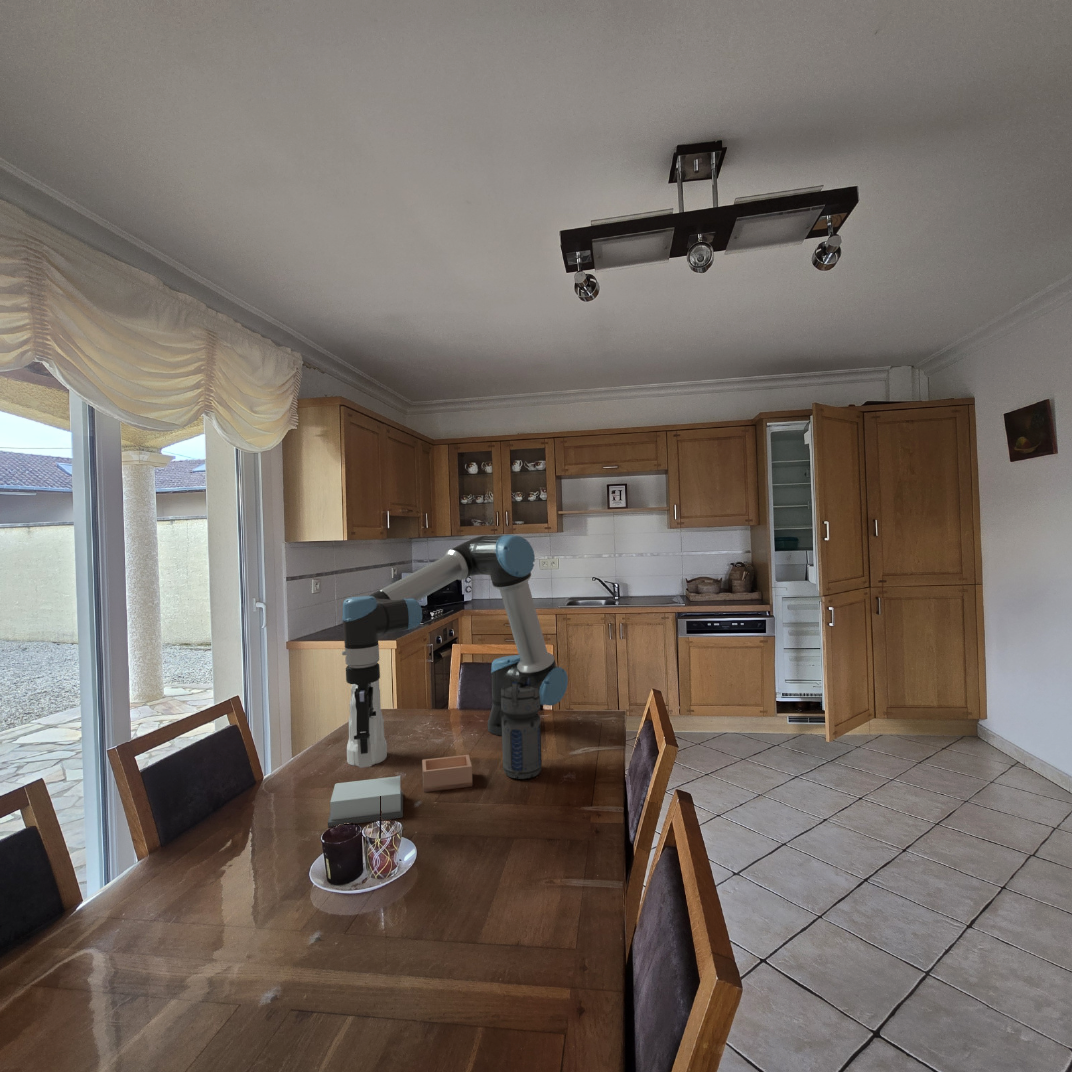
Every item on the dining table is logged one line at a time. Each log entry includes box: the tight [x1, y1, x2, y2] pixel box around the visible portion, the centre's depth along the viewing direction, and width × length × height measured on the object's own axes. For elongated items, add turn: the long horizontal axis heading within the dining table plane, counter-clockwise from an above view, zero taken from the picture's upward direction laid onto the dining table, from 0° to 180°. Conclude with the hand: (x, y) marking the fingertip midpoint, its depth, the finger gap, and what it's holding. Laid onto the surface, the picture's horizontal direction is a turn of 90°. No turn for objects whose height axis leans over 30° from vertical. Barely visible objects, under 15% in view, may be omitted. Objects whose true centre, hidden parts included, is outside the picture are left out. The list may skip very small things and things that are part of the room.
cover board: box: [329, 775, 402, 820], centre depth 138 cm, size 15×10×4 cm, turn 102°
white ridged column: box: [346, 679, 388, 767], centre depth 170 cm, size 11×11×25 cm
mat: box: [327, 790, 404, 828], centre depth 138 cm, size 16×12×1 cm
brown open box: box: [421, 754, 473, 793], centre depth 152 cm, size 12×8×5 cm, turn 102°
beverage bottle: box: [501, 675, 543, 780], centre depth 157 cm, size 10×13×25 cm
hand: (367, 755), depth 138 cm, fingers open, 13 cm apart
